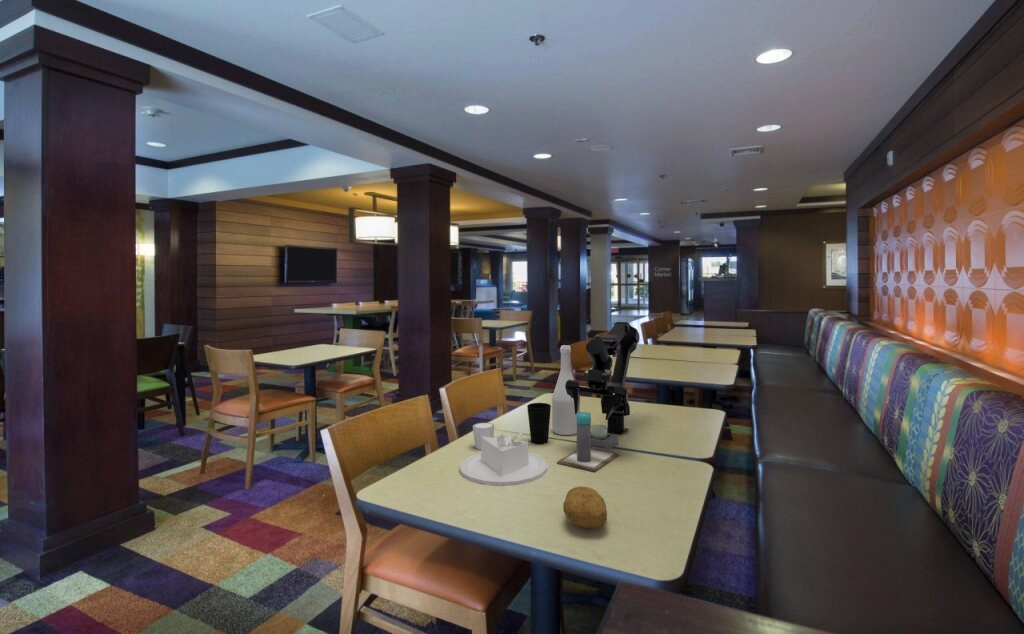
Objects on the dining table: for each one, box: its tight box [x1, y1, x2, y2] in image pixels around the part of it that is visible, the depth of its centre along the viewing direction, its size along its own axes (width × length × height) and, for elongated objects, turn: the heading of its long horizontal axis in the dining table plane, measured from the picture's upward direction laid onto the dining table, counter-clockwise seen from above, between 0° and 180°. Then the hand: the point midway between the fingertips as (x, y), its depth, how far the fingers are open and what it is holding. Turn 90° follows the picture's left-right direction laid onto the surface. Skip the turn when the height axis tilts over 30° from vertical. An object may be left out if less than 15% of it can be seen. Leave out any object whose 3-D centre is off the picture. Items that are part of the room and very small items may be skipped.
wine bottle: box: [551, 344, 581, 436], centre depth 177 cm, size 10×10×30 cm
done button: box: [591, 424, 608, 440], centre depth 163 cm, size 5×5×4 cm
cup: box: [526, 402, 552, 445], centre depth 168 cm, size 8×8×12 cm
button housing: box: [591, 432, 619, 451], centre depth 163 cm, size 9×9×3 cm
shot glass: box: [472, 422, 495, 450], centre depth 164 cm, size 7×7×7 cm
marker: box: [576, 411, 592, 462], centre depth 148 cm, size 4×4×14 cm
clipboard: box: [556, 446, 620, 473], centre depth 151 cm, size 16×12×1 cm
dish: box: [458, 432, 548, 487], centre depth 145 cm, size 25×25×11 cm
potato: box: [562, 485, 608, 529], centre depth 113 cm, size 9×13×7 cm
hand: (590, 416), depth 153 cm, fingers open, 9 cm apart
